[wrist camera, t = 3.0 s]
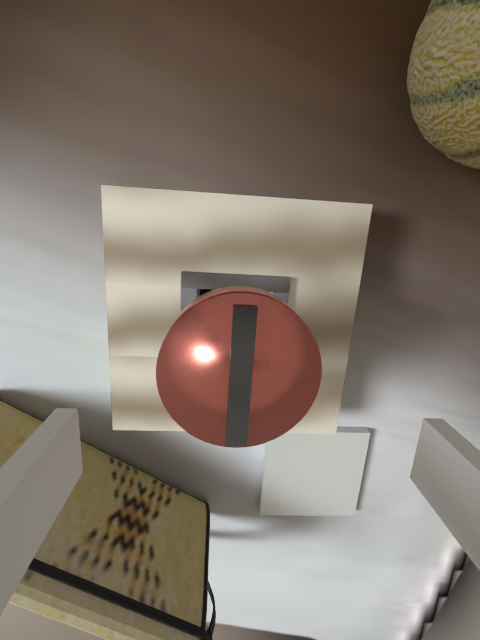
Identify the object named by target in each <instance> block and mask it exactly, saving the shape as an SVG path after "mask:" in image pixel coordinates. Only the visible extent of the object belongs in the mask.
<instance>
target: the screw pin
mask: <svg viewBox="0 0 480 640" xmlns="http://www.w3.org/2000/svg"><path fill="white" fill-rule="evenodd" d="M321 376H322V362H321V355H320V351H319V348H318V345H317V342H316V340H315V338H314V336H313V334H312V332H311V331H310V329H309V328H308V327H307V325H306V324H305V323H304V321H303V320H302V319H301V318H300V317H299V316H298V315H297V313H296V312H295V311H294V310H293V309H292V308H291V307H290V306H289V305H288V304H287V303H286V302H284V301H283V300H282V299H280V298H279V297H277V296H275V295H273V294H272V293H269V292H267V291H264V290H261V289H257V288H253V287H246V286H230V287H223V288H219V289H215V290H212V291H210V292H207V293H205V294H203V295H201V296H199V297H198V298H196V299H194V300H193V301H192V302H190V303H189V304H188V305H187V306H186V307H185V308H184V309H183V310H182V311H181V312H180V313H179V314H178V315H177V317H176V318H175V320H174V321H173V323H172V325H171V327H170V328H169V330H168V333H167V335H166V337H165V339H164V341H163V343H162V345H161V348H160V351H159V354H158V358H157V363H156V383H157V388H158V392H159V395H160V398H161V401H162V403H163V405H164V407H165V409H166V410H167V412H168V413H169V415H170V416H171V417H172V419H173V420H174V421H175V422H176V423H177V424H178V425H179V426H180V427H181V428H183V429H184V430H185V431H186V432H188V433H189V434H191V435H193V436H194V437H196V438H198V439H200V440H202V441H205V442H208V443H211V444H214V445H218V446H224V447H249V446H256V445H259V444H263V443H266V442H269V441H271V440H274V439H276V438H278V437H280V436H281V435H283V434H285V433H286V432H288V431H289V430H291V429H292V428H293V427H294V426H295V425H297V424H298V423H299V422H300V421H301V420H302V418H303V417H304V416H305V415H306V414H307V412H308V411H309V409H310V408H311V406H312V405H313V403H314V401H315V399H316V396H317V393H318V391H319V387H320V383H321Z"/></svg>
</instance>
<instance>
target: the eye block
mask: <svg viewBox="0 0 480 640" xmlns="http://www.w3.org/2000/svg"><path fill="white" fill-rule="evenodd" d="M101 195H102V216H103V237H104V258H105V279H106V300H107V321H108V342H109V363H110V384H111V405H112V426H113V430H140V431H185V430H184V429H183V428H181V427H180V426H179V425H178V424H177V423H176V422H175V421H174V420H173V419H172V417H171V416H170V415H169V413H168V412H167V410H166V409H165V407H164V405H163V403H162V401H161V398H160V395H159V392H158V388H157V383H156V363H157V358H158V354H159V351H160V348H161V345H162V343H163V341H164V339H165V337H166V335H167V333H168V330H169V328H170V327H171V325H172V323H173V321H174V320H175V318H176V317H177V315H178V314H179V313H180V312H181V311H182V310H183V309H184V308H185V307H186V306H187V305H188V304H189V303H190V302H192V301H193V300H194V299H196V298H198V297H199V296H200V289H219V288H223V287H230V286H246V287H253V288H257V289H261V290H264V291H267V292H269V293H272V294H273V295H275V296H277V297H279V298H280V299H282V300H283V301H284V302H286V303H287V304H288V305H289V306H290V307H291V308H292V309H293V310H294V311H295V312H296V313H297V315H298V316H299V317H300V318H301V319H302V320H303V321H304V323H305V324H306V325H307V327H308V328H309V329H310V331H311V332H312V334H313V336H314V338H315V340H316V342H317V345H318V348H319V351H320V355H321V362H322V376H321V383H320V387H319V391H318V393H317V396H316V399H315V401H314V403H313V405H312V406H311V408H310V409H309V411H308V412H307V414H306V415H305V416H304V417H303V418H302V420H301V421H300V422H299V423H298V424H297V425H295V426H294V427H293V428H292V429H291V430H289V431H288V432H286V433H294V434H336V431H337V424H338V418H339V412H340V406H341V399H342V393H343V387H344V381H345V374H346V368H347V362H348V356H349V350H350V343H351V337H352V331H353V325H354V318H355V312H356V306H357V300H358V293H359V287H360V281H361V275H362V268H363V262H364V256H365V250H366V243H367V237H368V231H369V225H370V218H371V212H372V206H373V204H360V203H346V202H332V201H318V200H303V199H289V198H275V197H261V196H247V195H233V194H219V193H205V192H190V191H176V190H162V189H148V188H134V187H120V186H106V185H101Z"/></svg>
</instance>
